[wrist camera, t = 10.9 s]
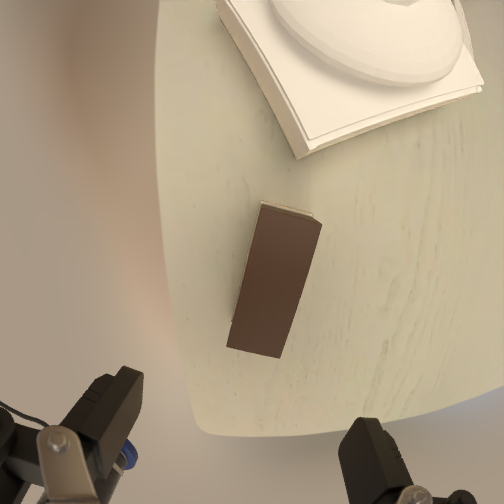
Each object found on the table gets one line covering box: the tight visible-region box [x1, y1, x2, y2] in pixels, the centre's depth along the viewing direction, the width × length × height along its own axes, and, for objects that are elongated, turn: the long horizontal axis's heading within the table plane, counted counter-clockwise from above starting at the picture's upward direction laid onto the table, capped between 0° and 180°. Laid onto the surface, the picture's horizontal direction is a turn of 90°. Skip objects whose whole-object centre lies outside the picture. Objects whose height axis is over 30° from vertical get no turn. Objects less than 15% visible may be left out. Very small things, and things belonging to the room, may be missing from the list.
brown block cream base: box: [226, 200, 322, 358], centre depth 25 cm, size 12×5×6 cm, turn 166°
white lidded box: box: [215, 0, 485, 160], centre depth 16 cm, size 18×18×16 cm
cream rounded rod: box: [452, 0, 475, 63], centre depth 20 cm, size 2×14×2 cm, turn 176°
